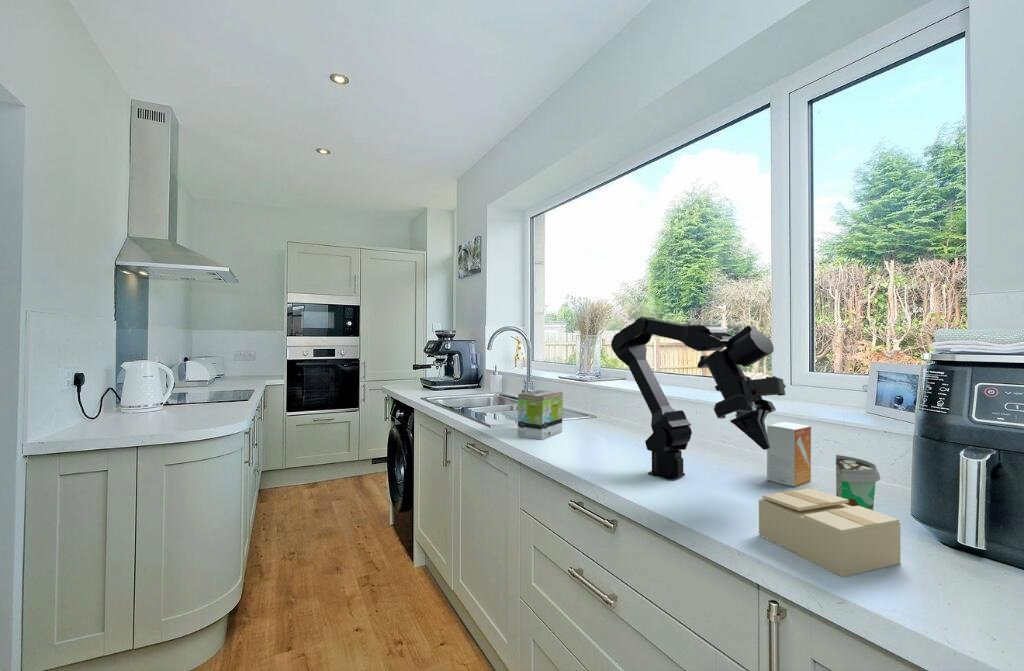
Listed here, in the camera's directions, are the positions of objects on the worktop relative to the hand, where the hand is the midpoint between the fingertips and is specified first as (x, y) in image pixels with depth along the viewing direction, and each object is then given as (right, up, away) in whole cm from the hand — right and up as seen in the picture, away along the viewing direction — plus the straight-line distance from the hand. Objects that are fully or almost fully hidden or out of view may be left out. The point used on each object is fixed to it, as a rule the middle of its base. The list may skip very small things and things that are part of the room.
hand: (767, 449), depth 87 cm
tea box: (-40, -12, +68) cm, 80 cm away
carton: (0, -12, -16) cm, 20 cm away
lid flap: (-1, -5, -13) cm, 14 cm away
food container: (+15, -12, -4) cm, 20 cm away
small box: (+15, -12, +18) cm, 26 cm away
